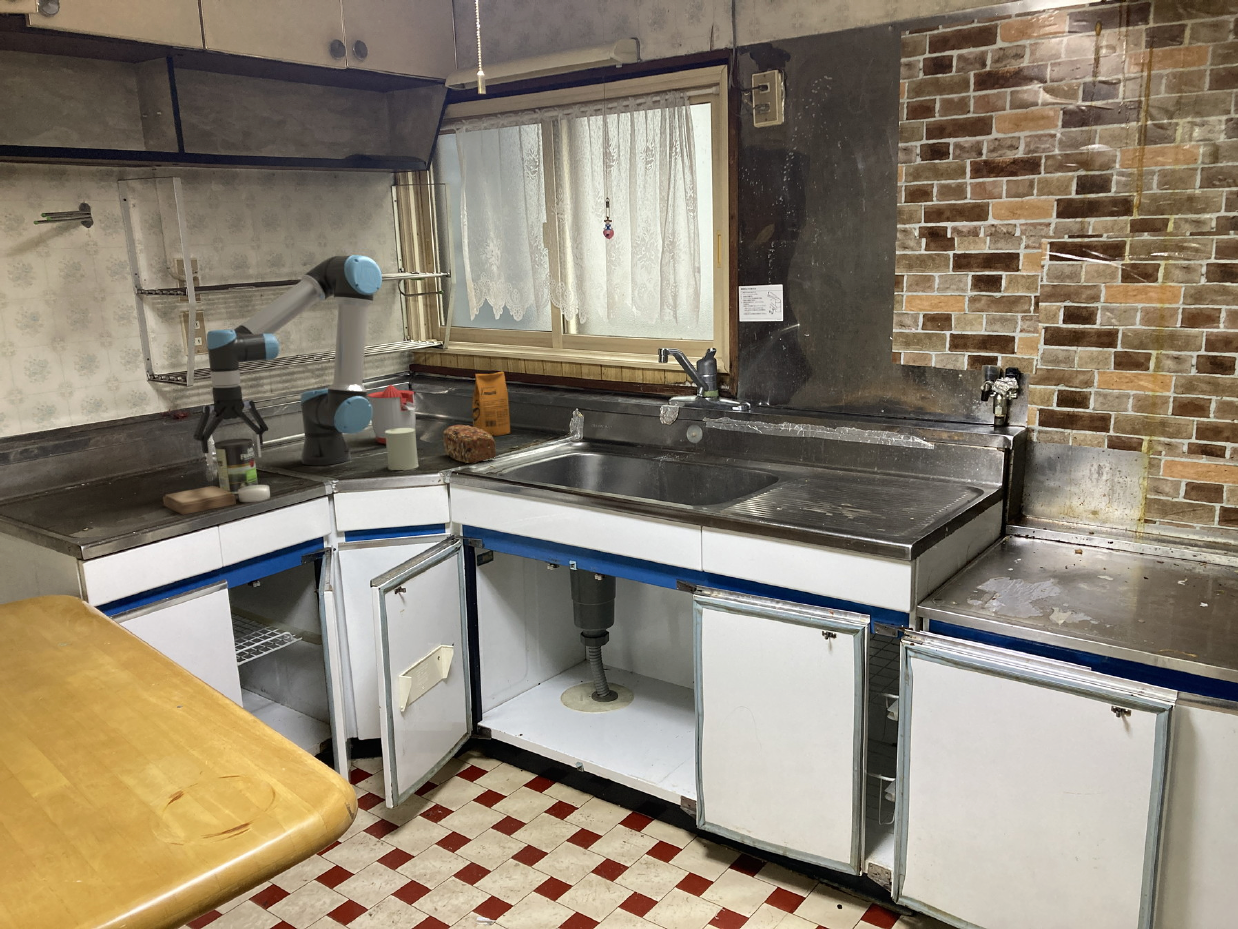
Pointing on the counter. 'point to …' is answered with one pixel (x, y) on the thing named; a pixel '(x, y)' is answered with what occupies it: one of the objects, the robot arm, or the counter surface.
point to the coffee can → (236, 464)
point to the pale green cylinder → (401, 449)
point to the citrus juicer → (392, 411)
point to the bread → (468, 444)
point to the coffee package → (491, 404)
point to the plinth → (198, 500)
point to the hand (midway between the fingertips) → (234, 460)
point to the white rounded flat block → (254, 493)
